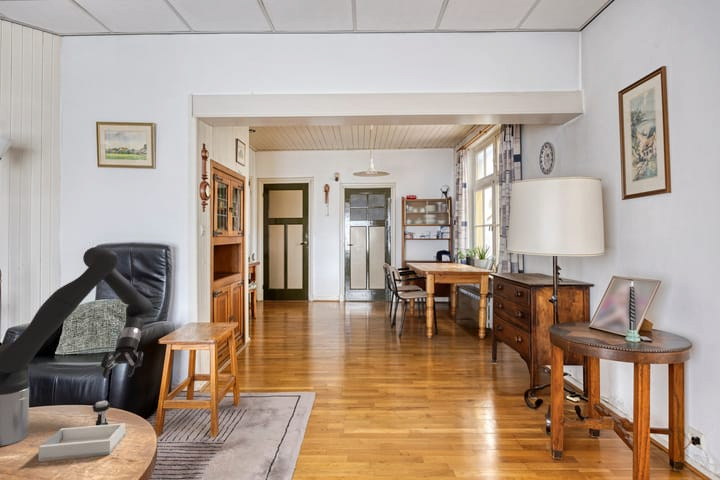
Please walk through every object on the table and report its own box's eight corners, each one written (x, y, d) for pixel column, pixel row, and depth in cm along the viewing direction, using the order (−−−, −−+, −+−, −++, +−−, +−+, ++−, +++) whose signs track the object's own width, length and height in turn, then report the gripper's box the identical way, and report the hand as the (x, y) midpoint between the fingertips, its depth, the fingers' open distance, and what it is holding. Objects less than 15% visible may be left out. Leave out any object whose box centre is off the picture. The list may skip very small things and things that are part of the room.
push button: (114, 429, 135) (114, 402, 136) (98, 436, 131) (98, 407, 131) (105, 425, 139) (106, 398, 139) (89, 431, 134) (89, 403, 134)
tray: (38, 461, 115) (38, 447, 115) (61, 441, 127) (61, 428, 127) (109, 454, 119) (109, 440, 119) (125, 435, 131) (125, 423, 131)
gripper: (107, 336, 154) (93, 373, 143) (145, 335, 157) (134, 371, 145) (113, 346, 159) (100, 382, 148) (149, 344, 162) (139, 379, 151)
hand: (117, 376), depth 147 cm, fingers open, 8 cm apart
